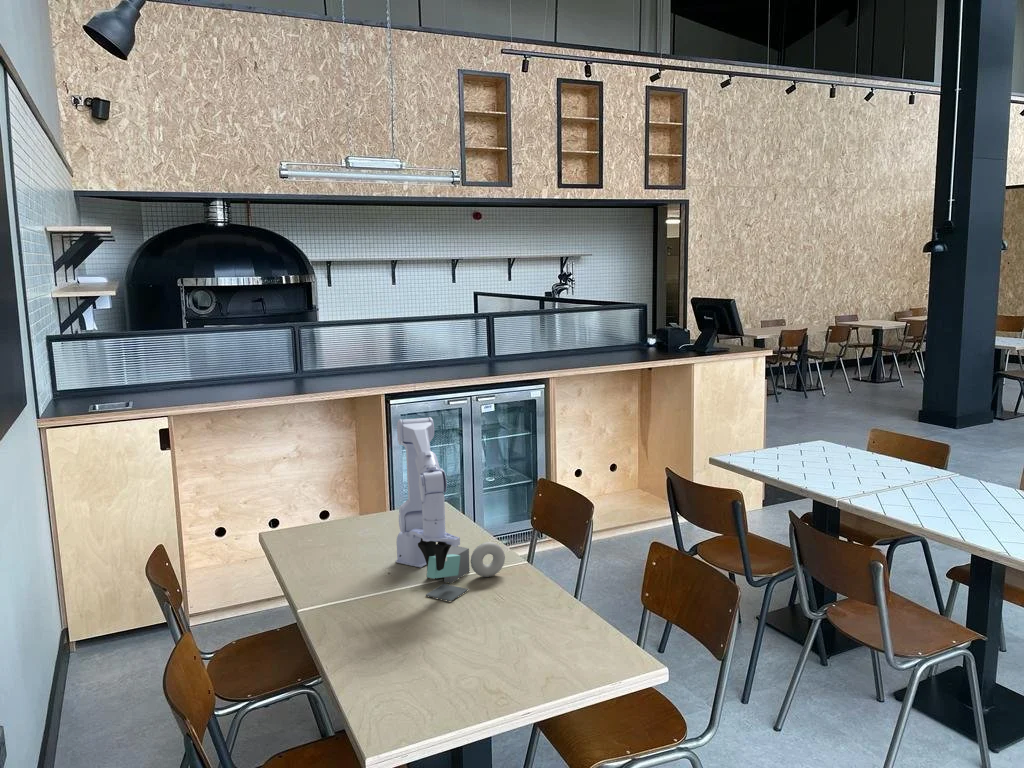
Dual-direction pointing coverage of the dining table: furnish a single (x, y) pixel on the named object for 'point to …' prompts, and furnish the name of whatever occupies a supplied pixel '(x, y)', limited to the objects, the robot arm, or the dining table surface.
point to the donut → (479, 555)
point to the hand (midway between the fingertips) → (435, 568)
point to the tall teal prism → (449, 567)
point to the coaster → (446, 592)
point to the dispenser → (463, 562)
